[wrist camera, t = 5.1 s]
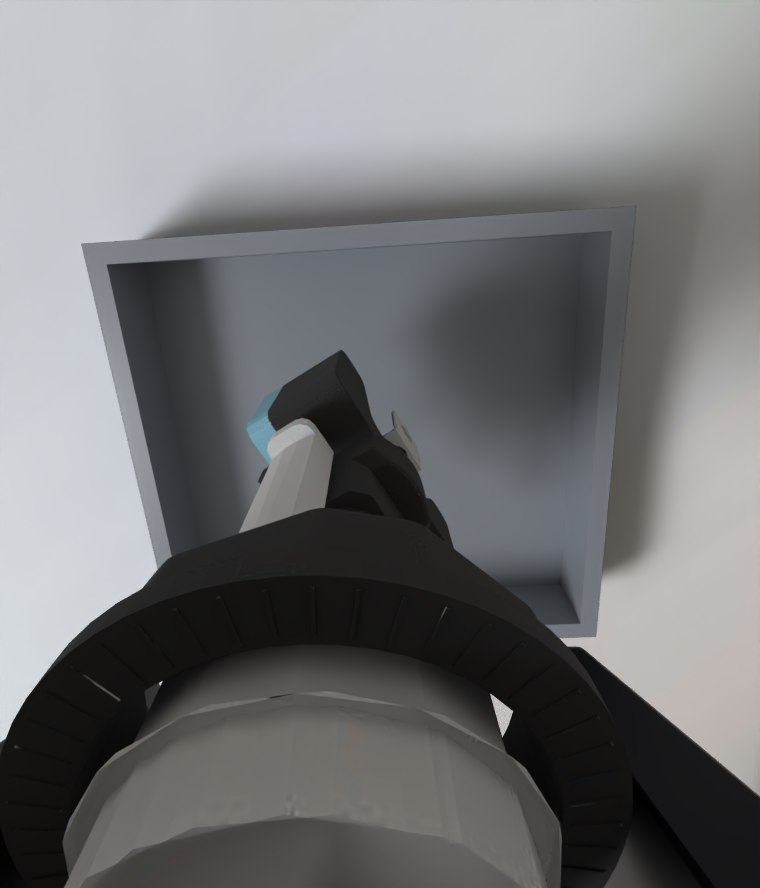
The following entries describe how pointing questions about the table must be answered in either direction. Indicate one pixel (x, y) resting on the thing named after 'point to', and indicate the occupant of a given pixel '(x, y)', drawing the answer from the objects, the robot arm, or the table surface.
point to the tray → (389, 374)
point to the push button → (318, 700)
